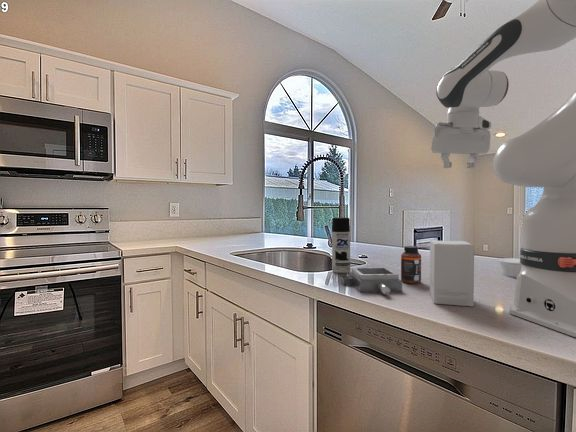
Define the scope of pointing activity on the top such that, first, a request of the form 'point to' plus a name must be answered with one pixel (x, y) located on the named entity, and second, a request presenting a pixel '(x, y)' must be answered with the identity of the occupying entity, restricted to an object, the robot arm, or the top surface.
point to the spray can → (341, 245)
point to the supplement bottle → (411, 265)
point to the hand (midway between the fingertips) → (459, 168)
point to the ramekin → (510, 266)
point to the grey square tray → (373, 280)
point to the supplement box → (452, 272)
